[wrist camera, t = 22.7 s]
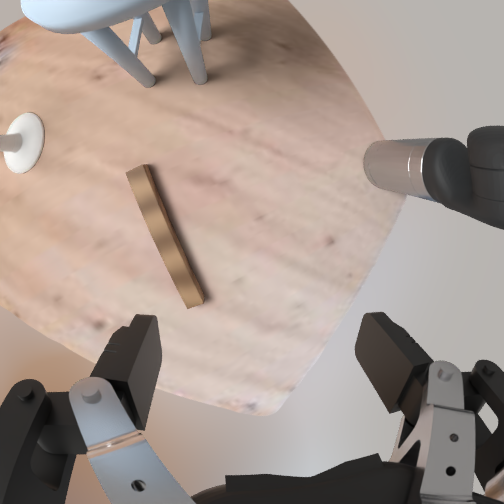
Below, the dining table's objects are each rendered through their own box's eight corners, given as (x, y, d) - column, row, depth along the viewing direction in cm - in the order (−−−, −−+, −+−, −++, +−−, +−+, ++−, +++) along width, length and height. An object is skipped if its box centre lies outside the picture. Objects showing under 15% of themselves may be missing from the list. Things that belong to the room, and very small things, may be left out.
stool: (135, 23, 34) (62, -75, 3) (232, 17, 35) (243, -112, 5) (122, 107, 39) (-4, 55, 9) (225, 102, 41) (223, -4, 10)
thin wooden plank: (131, 172, 43) (125, 172, 40) (147, 164, 43) (142, 164, 40) (189, 300, 52) (187, 309, 48) (204, 295, 51) (203, 303, 48)
